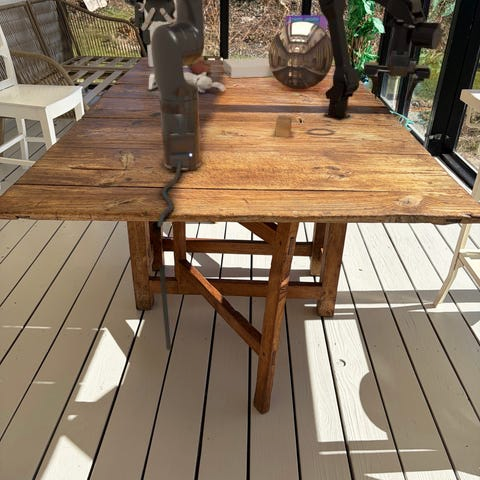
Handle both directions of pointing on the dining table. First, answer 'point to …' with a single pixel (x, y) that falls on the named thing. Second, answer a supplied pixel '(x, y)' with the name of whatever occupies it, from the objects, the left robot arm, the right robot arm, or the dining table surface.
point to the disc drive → (247, 67)
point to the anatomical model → (200, 66)
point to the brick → (283, 126)
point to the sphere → (300, 55)
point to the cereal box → (308, 19)
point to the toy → (200, 80)
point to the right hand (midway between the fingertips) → (391, 99)
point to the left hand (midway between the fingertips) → (162, 45)
